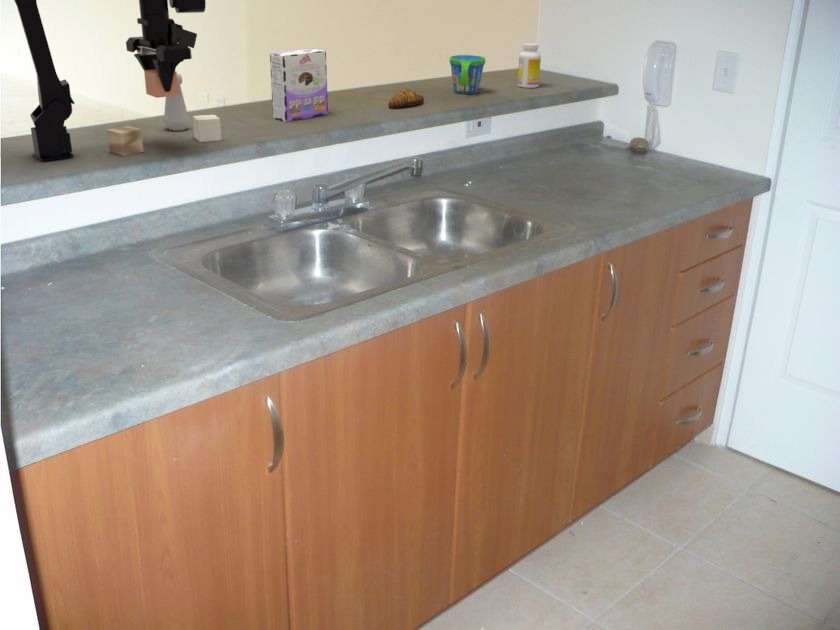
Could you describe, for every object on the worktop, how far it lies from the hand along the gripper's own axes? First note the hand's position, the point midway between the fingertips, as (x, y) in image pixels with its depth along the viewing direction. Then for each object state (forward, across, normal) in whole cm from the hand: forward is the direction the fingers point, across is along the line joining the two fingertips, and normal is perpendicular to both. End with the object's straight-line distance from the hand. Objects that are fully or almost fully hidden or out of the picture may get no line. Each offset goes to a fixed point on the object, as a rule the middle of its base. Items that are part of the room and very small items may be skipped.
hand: (162, 89), depth 190 cm
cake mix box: (+13, +10, -42) cm, 45 cm away
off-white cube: (+13, +2, -11) cm, 17 cm away
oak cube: (+13, +1, +9) cm, 16 cm away
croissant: (+13, +6, -74) cm, 75 cm away
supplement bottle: (+13, +7, -125) cm, 126 cm away
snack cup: (+13, +11, -102) cm, 103 cm away
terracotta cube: (+1, 0, 0) cm, 1 cm away
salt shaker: (+13, +15, -10) cm, 22 cm away
